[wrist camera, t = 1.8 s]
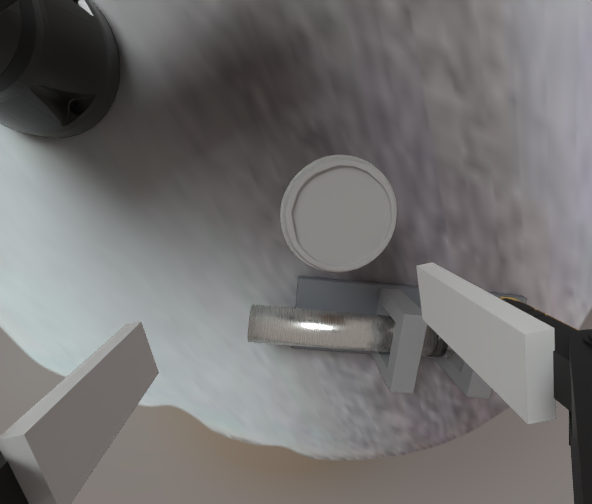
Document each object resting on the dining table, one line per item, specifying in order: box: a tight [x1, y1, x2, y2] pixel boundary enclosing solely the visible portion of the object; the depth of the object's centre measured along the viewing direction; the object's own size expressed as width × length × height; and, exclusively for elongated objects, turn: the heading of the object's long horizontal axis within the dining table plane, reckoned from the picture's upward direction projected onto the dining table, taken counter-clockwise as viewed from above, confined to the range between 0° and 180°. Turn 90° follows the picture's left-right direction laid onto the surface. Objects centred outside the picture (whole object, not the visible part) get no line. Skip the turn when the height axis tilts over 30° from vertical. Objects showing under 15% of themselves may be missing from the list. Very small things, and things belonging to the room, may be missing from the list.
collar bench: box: [291, 276, 579, 400], centre depth 33 cm, size 28×9×11 cm, turn 84°
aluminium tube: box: [248, 305, 454, 357], centre depth 34 cm, size 22×4×4 cm, turn 84°
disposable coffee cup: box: [280, 155, 397, 273], centre depth 30 cm, size 10×10×12 cm
